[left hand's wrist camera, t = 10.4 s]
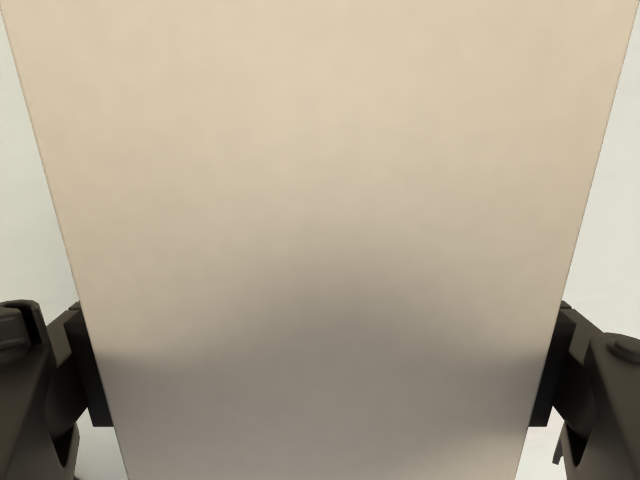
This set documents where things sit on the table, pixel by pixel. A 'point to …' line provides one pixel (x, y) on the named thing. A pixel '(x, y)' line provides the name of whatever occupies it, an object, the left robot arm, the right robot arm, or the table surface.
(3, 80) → the table surface
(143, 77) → the wide beam
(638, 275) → the table surface
